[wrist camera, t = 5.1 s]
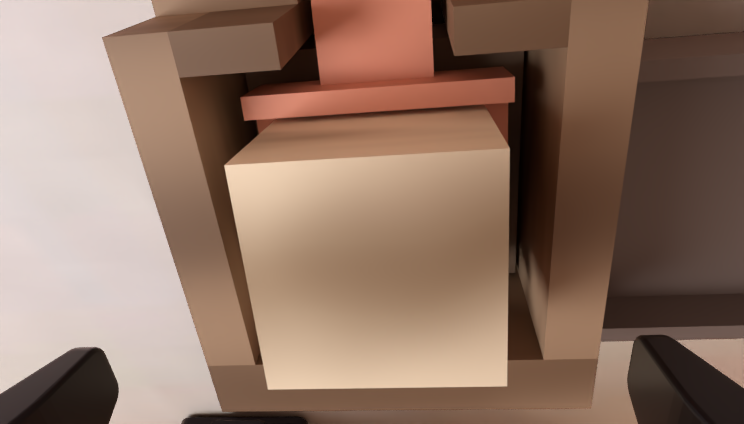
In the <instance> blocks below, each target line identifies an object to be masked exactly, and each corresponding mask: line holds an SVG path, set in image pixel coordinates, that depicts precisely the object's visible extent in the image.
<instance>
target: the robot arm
mask: <svg viewBox="0 0 744 424" xmlns="http://www.w3.org/2000/svg"><path fill="white" fill-rule="evenodd" d="M627 382H628V390H629V394H630V398H631V401H632V405H633V408H634V412H635V415H636V418H637V422H638V424H744V388H742V387H741V386H740V385H738V384H737V383H735V382H734V381H732V380H731V379H730V378H728V377H727V376H725V375H724V374H723V373H721V372H720V371H718V370H717V369H715V368H714V367H713V366H711V365H710V364H708V363H707V362H706V361H704V360H703V359H701V358H700V357H698V356H697V355H696V354H694V353H693V352H691V351H690V350H688V349H687V348H686V347H684V346H683V345H681V344H680V343H679V342H677V341H676V340H674V339H673V338H671V337H669V336H667V335H640V336H638V337H636V339H635V341H634V344H633V349H632V355H631V360H630V366H629V371H628V378H627ZM118 392H119V388H118V383H117V380H116V378H115V375H114V373H113V371H112V368H111V366H110V364H109V362H108V359H107V357H106V355H105V353H104V351H103V350H101V349H100V348H97V347H79V348H74V349H71V350H69V351H68V352H66V353H65V354H63V355H62V356H60V357H58V358H57V359H55V360H54V361H52V362H50V363H49V364H47V365H46V366H44V367H43V368H41V369H39V370H38V371H36V372H35V373H33V374H31V375H30V376H28V377H27V378H25V379H24V380H22V381H20V382H19V383H17V384H16V385H14V386H12V387H11V388H9V389H8V390H6V391H5V392H3V393H1V394H0V424H109V421H110V418H111V416H112V413H113V410H114V407H115V404H116V402H117V398H118ZM181 424H308V423H307V421H306V420H305V419H303V418H301V417H208V418H185V419H184V420H183V421H182V423H181Z"/></svg>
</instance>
